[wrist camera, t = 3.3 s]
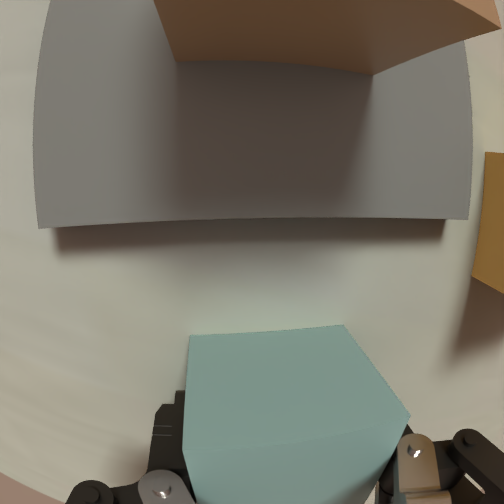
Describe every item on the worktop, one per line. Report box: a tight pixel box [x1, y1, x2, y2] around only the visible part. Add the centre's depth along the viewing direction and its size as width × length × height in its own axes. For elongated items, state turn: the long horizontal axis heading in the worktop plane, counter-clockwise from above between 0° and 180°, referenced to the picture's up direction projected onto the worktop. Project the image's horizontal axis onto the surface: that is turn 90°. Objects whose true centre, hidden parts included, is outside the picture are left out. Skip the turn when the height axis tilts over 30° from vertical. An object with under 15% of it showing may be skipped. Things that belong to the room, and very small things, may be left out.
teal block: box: [182, 325, 411, 504], centre depth 9 cm, size 6×6×5 cm
